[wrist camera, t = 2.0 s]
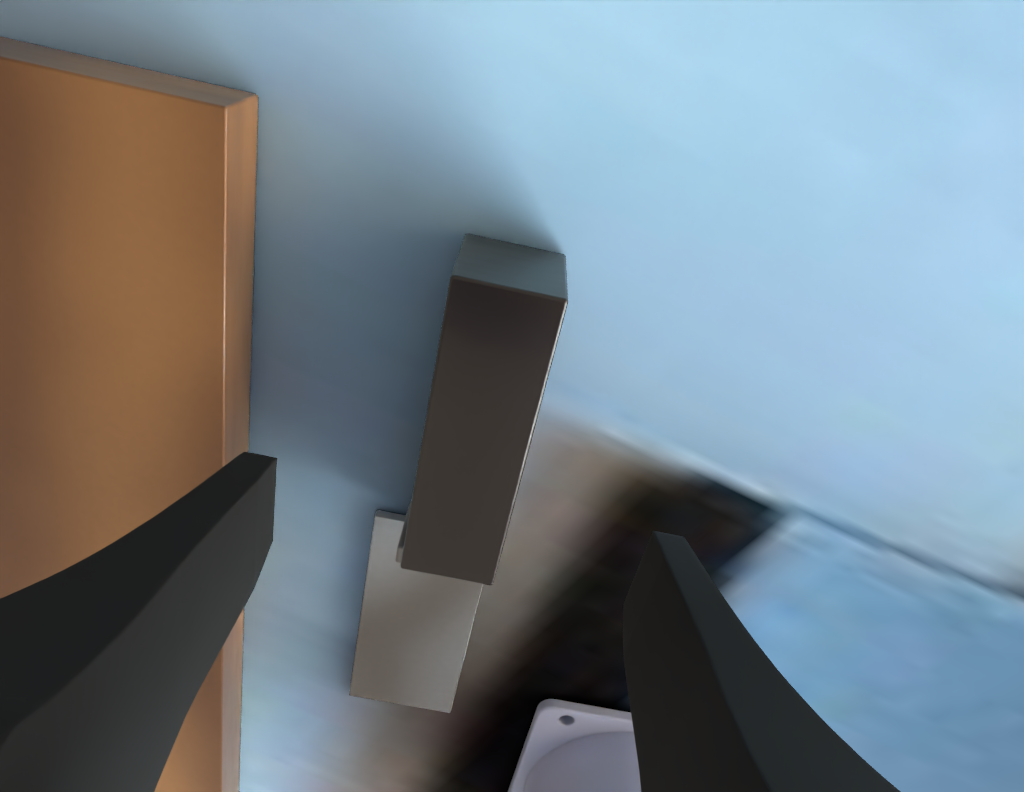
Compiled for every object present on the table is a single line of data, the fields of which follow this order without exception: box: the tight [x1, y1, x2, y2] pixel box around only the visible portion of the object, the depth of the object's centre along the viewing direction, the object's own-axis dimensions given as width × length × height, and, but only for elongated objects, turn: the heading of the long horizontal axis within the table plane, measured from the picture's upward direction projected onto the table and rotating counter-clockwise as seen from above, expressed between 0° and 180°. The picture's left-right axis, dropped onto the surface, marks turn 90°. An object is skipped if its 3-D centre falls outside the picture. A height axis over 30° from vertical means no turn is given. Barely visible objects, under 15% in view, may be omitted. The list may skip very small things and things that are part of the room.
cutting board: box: [0, 37, 258, 792], centre depth 21 cm, size 11×26×2 cm, turn 168°
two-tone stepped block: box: [349, 234, 568, 713], centre depth 20 cm, size 4×17×3 cm, turn 168°
